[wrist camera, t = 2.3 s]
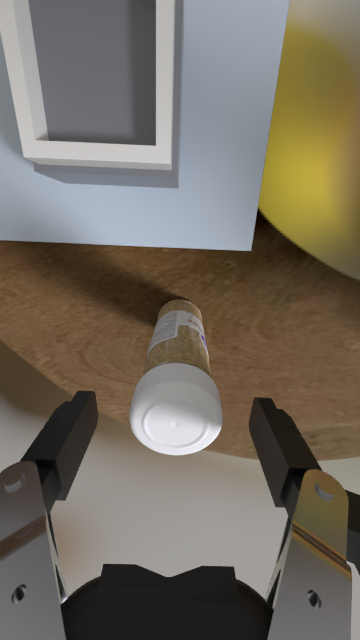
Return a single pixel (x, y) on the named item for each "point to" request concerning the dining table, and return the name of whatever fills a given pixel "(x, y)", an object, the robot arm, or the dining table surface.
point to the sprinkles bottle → (177, 386)
